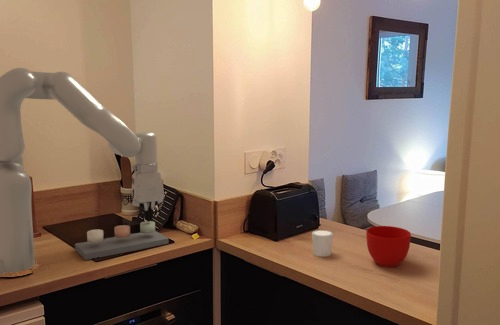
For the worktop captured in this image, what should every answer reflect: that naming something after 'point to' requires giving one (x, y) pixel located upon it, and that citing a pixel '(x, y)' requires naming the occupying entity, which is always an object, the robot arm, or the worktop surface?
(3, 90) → the robot arm
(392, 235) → the ceramic cup
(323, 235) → the white tapered tub
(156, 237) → the button board
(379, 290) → the worktop surface
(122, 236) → the terracotta button
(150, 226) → the sage button
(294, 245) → the worktop surface
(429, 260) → the worktop surface
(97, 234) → the cream button
